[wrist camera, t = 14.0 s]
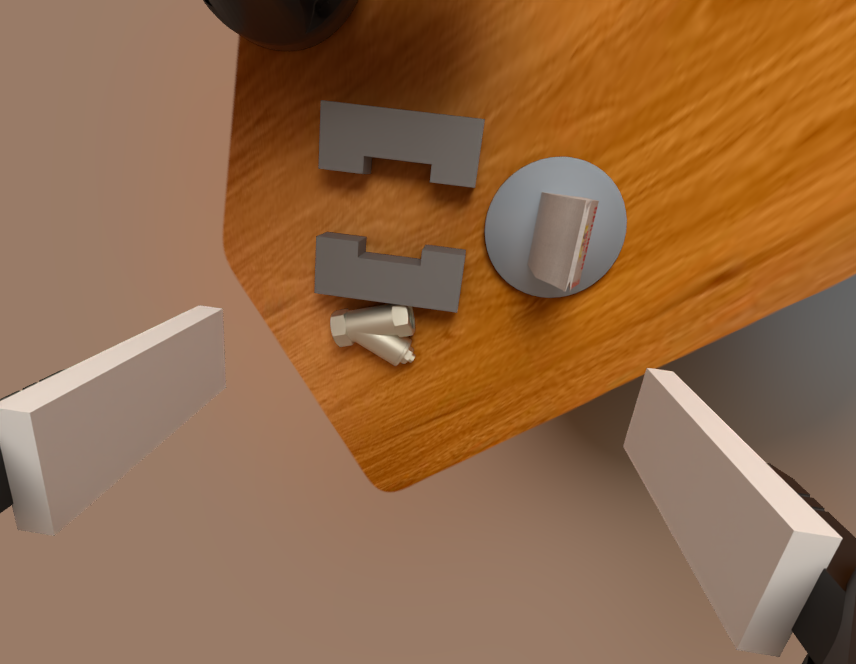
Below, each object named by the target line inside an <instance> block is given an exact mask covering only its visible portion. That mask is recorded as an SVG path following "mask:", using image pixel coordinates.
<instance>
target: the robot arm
mask: <svg viewBox="0 0 856 664" xmlns="http://www.w3.org/2000/svg"><path fill="white" fill-rule="evenodd" d="M203 1H204V2H205V4H206V5H207V6H208V8H209V9H210V10H211V11H212V12H213V13H214V14H215V15H216V16H217V18H219V19H220V20H221V21H222V22H223V23H224V24H225V25H226V26H228V27H229V28H230V29H232V30H233V31H235V32H236V33H238V34H239V35H241V36H242V37H244V38H246V39H247V40H249V41H251V42H253V43H255V44H257V45H259V46H262V47H265V48H268V49H272V50H278V51H295V50H301V49H305V48H309V47H311V46H314V45H316V44H318V43H320V42H322V41H324V40H325V39H327V38H328V37H330V36H331V35H332V34H333V33H334V32H336V31H337V30H338V29H339V28H340V27H341V26H342V24H343V23H344V22H345V21H346V19H347V18H348V17H349V15H350V14H351V12H352V10H353V9H354V7H355V5H356V3H357V1H358V0H203ZM225 388H226V380H225V352H224V326H223V309H222V308H214V307H208V306H200V305H199V306H197V307H195V308H193V309H191V310H189V311H186V312H184V313H182V314H180V315H178V316H176V317H174V318H172V319H170V320H168V321H166V322H164V323H162V324H159V325H157V326H155V327H153V328H151V329H149V330H147V331H145V332H143V333H141V334H139V335H137V336H135V337H132V338H130V339H128V340H127V341H124V342H122V343H120V344H118V345H116V346H114V347H112V348H109V349H108V350H105V351H103V352H101V353H99V354H97V355H95V356H93V357H91V358H89V359H87V360H85V361H83V362H81V363H78V364H76V365H74V366H72V367H70V368H68V369H64V370H61V371H58V372H56V373H54V374H52V375H50V376H48V377H46V378H44V379H42V380H40V381H39V383H33V384H31V385H29V386H27V387H25V388H23V390H22V391H17V392H14V393H12V394H11V395H8V396H6V397H4V398H2V399H0V513H1V512H3V511H4V510H5V509H7V508H8V507H10V506H11V505H12V507H13V512H14V516H15V520H16V524H17V529H18V530H23V531H29V532H35V533H41V534H47V535H53V536H55V535H56V534H57V533H58V532H60V531H61V530H62V529H63V528H64V527H65V526H66V525H68V524H69V523H70V522H71V521H72V520H73V519H75V517H77V516H78V515H79V514H80V513H81V512H82V511H84V510H85V509H86V508H87V507H88V506H89V505H91V504H92V503H93V502H94V501H95V500H96V499H97V498H99V497H100V496H101V495H102V494H103V493H104V492H106V491H107V490H108V489H109V488H110V487H111V486H112V485H114V484H115V483H116V482H117V481H118V480H119V479H121V478H122V477H123V476H124V475H125V474H126V473H128V472H129V471H130V470H131V469H132V468H133V467H134V466H136V465H137V464H138V463H139V462H140V461H141V460H143V458H145V457H146V456H147V455H148V454H149V453H151V452H152V451H153V450H154V449H155V448H156V447H158V446H159V445H160V444H161V443H162V442H163V441H164V440H166V439H167V438H168V437H169V436H170V435H171V434H173V433H174V432H175V431H176V430H177V429H178V428H179V427H181V426H182V425H183V424H184V423H185V422H186V421H188V420H189V419H190V418H191V417H192V416H193V415H195V413H197V412H198V411H199V410H200V409H201V408H203V407H204V406H205V405H206V404H207V403H208V402H210V401H211V399H213V398H214V397H215V396H216V395H217V394H219V393H220V392H221V391H222V390H223V389H225ZM623 447H624V449H625V450H626V452H627V454H628V456H629V458H630V459H631V461H632V463H633V464H634V467H635V468H636V470H637V472H638V474H639V475H640V477H641V479H642V481H643V483H644V485H645V486H646V488H647V490H648V492H649V493H650V495H651V497H652V499H653V501H654V502H655V504H656V506H657V508H658V510H659V511H660V513H661V515H662V517H663V519H664V520H665V522H666V524H667V526H668V528H669V529H670V531H671V533H672V535H673V537H674V538H675V540H676V542H677V544H678V546H679V547H680V549H681V551H682V553H683V555H684V556H685V558H686V560H687V562H688V564H689V565H690V567H691V568H692V571H693V573H694V574H695V576H696V578H697V580H698V582H699V583H700V585H701V587H702V589H703V591H704V592H705V594H706V596H707V598H708V600H709V601H710V603H711V605H712V607H713V608H714V610H715V612H716V614H717V616H718V618H719V619H720V621H721V623H722V625H723V626H724V628H725V630H726V632H727V634H728V635H729V637H730V639H731V641H732V643H733V644H734V646H735V648H736V650H741V651H747V652H753V653H759V654H765V655H771V656H776V657H780V655H781V653H782V651H783V649H784V647H785V645H786V644H787V642H788V640H789V638H790V636H791V634H792V632H793V633H794V634H795V636H796V637H797V639H798V640H799V641H800V643H801V644H802V646H803V647H804V648H805V650H806V651H807V653H808V654H807V655H806V657H805V659H804V661H803V663H802V664H856V538H855V537H854V536H853V535H852V534H851V533H850V532H849V531H848V530H847V529H846V528H844V527H843V526H842V525H841V524H840V523H839V522H838V521H837V520H836V519H835V518H834V517H833V516H832V515H831V514H830V513H829V512H825V511H824V508H823V507H822V506H821V505H820V504H819V503H818V502H817V501H816V500H815V499H814V498H810V494H809V493H808V492H807V491H806V490H804V489H803V488H802V487H801V486H800V485H799V484H798V483H797V482H796V481H795V480H794V479H793V478H791V477H790V476H788V475H787V474H785V473H783V472H782V471H780V470H779V469H777V468H776V467H774V466H773V465H771V464H769V463H765V462H764V461H763V460H762V459H761V458H760V457H759V456H758V455H757V454H756V453H755V452H754V451H753V450H752V449H751V448H750V447H749V446H748V445H747V444H746V443H745V442H744V441H743V440H742V439H741V438H740V437H739V436H738V435H737V434H736V433H735V432H734V431H733V430H732V429H730V427H729V426H728V425H727V424H726V423H725V422H724V421H723V420H722V419H721V418H720V417H719V416H718V415H716V413H714V411H712V410H711V409H710V408H709V407H708V406H707V405H706V404H705V403H704V402H703V401H702V400H701V399H700V398H699V397H698V396H697V395H696V394H695V393H694V392H693V391H692V390H691V389H690V388H689V387H688V386H687V385H686V384H685V383H684V382H683V381H682V380H681V379H680V378H679V377H678V376H677V375H676V374H675V373H674V372H672V371H665V370H658V369H651V368H647V369H646V373H645V376H644V379H643V383H642V386H641V389H640V393H639V396H638V399H637V402H636V406H635V409H634V412H633V416H632V419H631V422H630V425H629V429H628V432H627V436H626V439H625V442H624V446H623Z"/></svg>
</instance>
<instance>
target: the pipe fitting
mask: <svg viewBox="0 0 856 664" xmlns="http://www.w3.org/2000/svg"><path fill="white" fill-rule="evenodd" d="M330 327H331V333H332V336H333V339H334V341H335V342H336V344H337V345H338V346H339V347H344V346H350V345H353V344H354V343H355V342H356V343H358V344H360V345H361V346H363V347H364V348H366V349H368V350H369V351H371V352H373V353H374V354H376V355H378V356H379V357H381V358H383V359H384V360H386V361H387V362H389V363H391V364H392V365H394V366H397V365H398V364H399V363H400V362H401V363H403V364H405V363H407V361H409V362H410V363H411V362H412V361H413V360H414V358H415V354H413V351H414V348H412V347H411V346H410V345H411V342H412V340H411V339H410V338H408V337H407V336H412V335H413V334H414V332H415V319H414V313H413V308H412V306H406V305H398V304H391V303H390V304H385V305H379V306H373V307H368V308H362V309H356V310H349V309H348V308H347V309H341V310H336V311H335V312H333V313H332V315H331V319H330Z"/></svg>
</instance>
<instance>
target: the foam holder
mask: <svg viewBox="0 0 856 664" xmlns="http://www.w3.org/2000/svg"><path fill="white" fill-rule="evenodd" d="M484 121H485V119H478V118H470V117H461V116H452V115H444V114H435V113H427V112H418V111H410V110H401V109H392V108H384V107H375V106H367V105H358V104H349V103H341V102H332V101H324V100H321V110H320V140H319V169H327V170H335V171H343V172H351V173H359V174H371V166H372V157H374V158H382V159H390V160H398V161H407V162H415V163H423V164H431V165H432V167H431V176H430V182H432V183H440V184H448V185H456V186H464V187H472V188H475V184H476V177H477V170H478V163H479V156H480V149H481V142H482V135H483V128H484ZM366 239H367V237H363V236H356V235H348V234H340V233H333V232H326V233H323V234H321V235H318V236H316V264H315V293H318V294H325V295H333V296H340V297H347V298H354V299H362V300H369V301H376V302H384V303H391V304H398V305H406V306H413V307H420V308H428V309H435V310H442V311H449V312H457V310H458V303H459V296H460V289H461V282H462V275H463V268H464V261H465V253H466V250H463V249H456V248H448V247H440V246H433V245H425V247H424V248H423V250H422V257H421V259H416V258H409V257H401V256H394V255H386V254H379V253H371V252H366Z"/></svg>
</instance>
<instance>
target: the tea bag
mask: <svg viewBox="0 0 856 664" xmlns="http://www.w3.org/2000/svg"><path fill="white" fill-rule="evenodd" d="M598 203H599V201H597V200H592V199H588V198H583V197H576V196H568V195H561V194H553V193H545V192H542V193H541V198H540V203H539V208H538V213H537V219H536V224H535V229H534V234H533V239H532V244H531V249H530V254H529V259H528V266H529V268H530V269H531V271H532V273H533V274H534V276H535V277H536V278H538V279H540V280H542V281H545V282H547V283H549V284H551V285H553V286H555V287H557V288H559V289H561V290H563V291H564V292H565V291H566V289H567V287H568V286H569V290H571V289H572V288H573V287H574V286H576V285H578V284H579V282H580V278H581V274H582V270H583V265H584V261H585V257H586V253H587V249H588V245H589V240H590V236H591V232H592V228H593V224H594V220H595V215H596V211H597V207H598Z"/></svg>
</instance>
